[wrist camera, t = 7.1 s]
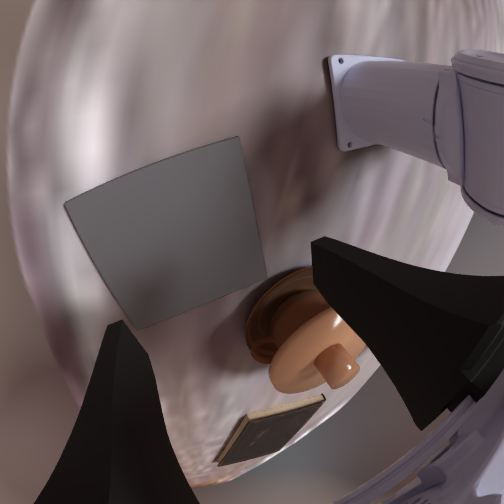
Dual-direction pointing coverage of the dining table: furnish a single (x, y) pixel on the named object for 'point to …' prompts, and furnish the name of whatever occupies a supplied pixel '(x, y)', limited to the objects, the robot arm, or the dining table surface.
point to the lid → (317, 355)
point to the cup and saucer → (282, 313)
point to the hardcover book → (268, 430)
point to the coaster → (173, 232)
